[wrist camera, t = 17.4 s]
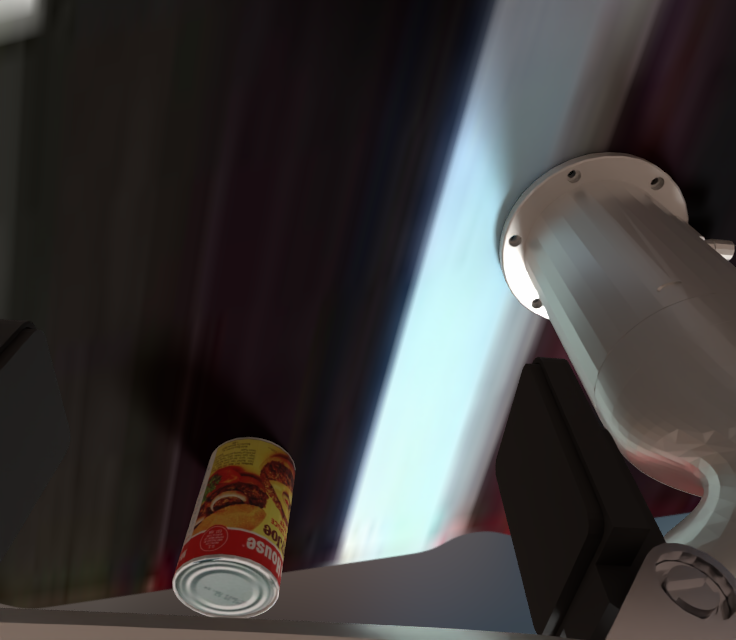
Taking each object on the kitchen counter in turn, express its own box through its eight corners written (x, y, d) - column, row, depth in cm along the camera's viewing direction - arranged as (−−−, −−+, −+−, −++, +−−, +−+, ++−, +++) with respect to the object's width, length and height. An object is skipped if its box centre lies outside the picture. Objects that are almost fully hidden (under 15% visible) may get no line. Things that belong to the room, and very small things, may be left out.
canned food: (299, 496, 55) (284, 618, 45) (217, 497, 55) (183, 620, 45) (291, 435, 51) (272, 556, 40) (202, 437, 51) (161, 558, 41)
